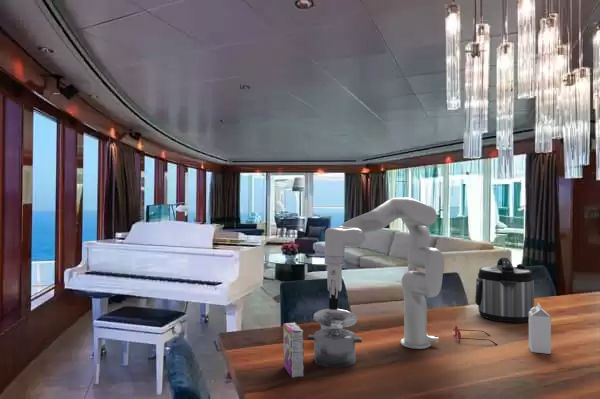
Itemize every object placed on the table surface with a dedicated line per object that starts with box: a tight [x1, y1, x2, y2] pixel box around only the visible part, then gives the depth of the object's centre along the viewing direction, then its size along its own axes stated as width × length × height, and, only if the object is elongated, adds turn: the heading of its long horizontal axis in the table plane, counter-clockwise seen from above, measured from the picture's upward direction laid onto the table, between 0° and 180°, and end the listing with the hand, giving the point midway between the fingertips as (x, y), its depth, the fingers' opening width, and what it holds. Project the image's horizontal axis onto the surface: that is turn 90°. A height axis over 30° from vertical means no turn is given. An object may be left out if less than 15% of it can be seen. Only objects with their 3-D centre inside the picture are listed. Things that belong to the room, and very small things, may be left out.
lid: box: [313, 308, 358, 329], centre depth 174 cm, size 17×17×2 cm
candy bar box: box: [282, 322, 305, 379], centre depth 160 cm, size 11×5×16 cm, turn 17°
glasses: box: [452, 325, 498, 346], centre depth 198 cm, size 14×16×5 cm
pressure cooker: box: [474, 257, 535, 323], centre depth 235 cm, size 30×28×32 cm
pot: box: [307, 327, 363, 369], centre depth 173 cm, size 21×17×10 cm
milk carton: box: [528, 302, 552, 355], centre depth 183 cm, size 7×7×19 cm
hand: (333, 308), depth 168 cm, fingers closed
